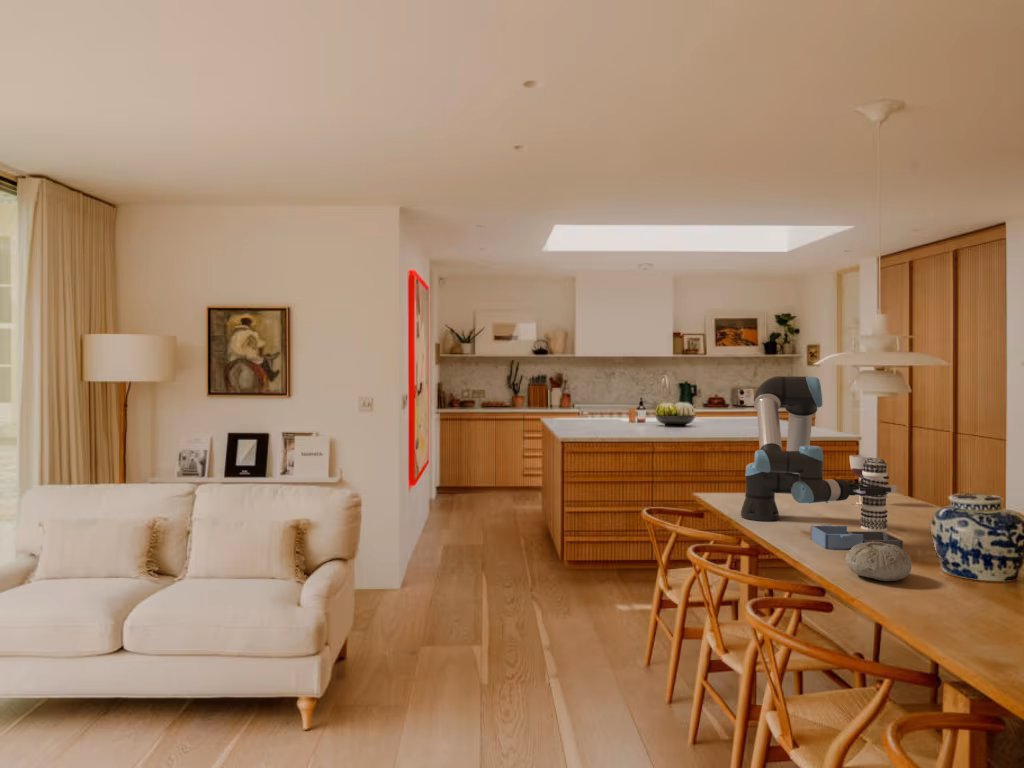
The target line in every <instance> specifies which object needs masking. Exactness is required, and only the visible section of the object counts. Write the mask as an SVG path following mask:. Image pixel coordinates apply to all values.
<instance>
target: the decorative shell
mask: <svg viewBox="0 0 1024 768" xmlns="http://www.w3.org/2000/svg"><path fill="white" fill-rule="evenodd" d="M844 561H845V564H846V566H847V567H848V568H849V569H850V570H851V572H852V573H854V574H856V575H857V576H861V577H866V578H869V579H870V578H871V579H873V580H877V581H881V582H894V581H895V582H896V581H899V580H903V579H904V578H906V577H908V576H909V574H910V573H911V571H912V563H913V561H912V559H911V558H910V556H909V555H908V552H907V551H905V550H904V549H901V548H900V547H898V546H896V545H893V544H892V545H890V544H885V543H882V542H874V541H872V542H867V543H860V544H857V545H855V546H854V547H852V548H851V549H848V550H847V553H846V554H845V558H844Z"/></svg>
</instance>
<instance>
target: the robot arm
mask: <svg viewBox="0 0 1024 768" xmlns="http://www.w3.org/2000/svg"><path fill="white" fill-rule="evenodd" d="M753 407H754V409H755V410H756V412H757V429H758V431H757V432H758V444H759V449H757V450H755V451H754V461H753V462H750V463H748V464H747V465H746V466H745V474H744V476H745V489H744V490H745V496H744V500H743V504H742V506H741V510H740V517H741V516H742V517H741V518H743V517H744V518H743V519H746V518H747V519H746V520H750V519H751V521H757V520H759V521H758V522H771V521H777V520H779V519H780V512H779V509H778V506H777V502H776V500H775V499H776V497H775V496H776V495H775V494H786V495H787V494H788V495H791V496H792V498H793V500H794V501H795V502H797V503H798V504H813V503H814V504H815V503H825V504H828V503H829V502H835V501H836V502H837V501H838V502H839V501H845V500H847V499H848V498H849V497H850V496H859V495H860V496H862V497H863V496H866V495H881V496H883V495H886V493H888V494H894V493H895V494H896V493H897V488H898V487H897V484H887V485H881V486H863V485H862V483H861V482H860V480H859V479H858V478H854V480H852V479H851V480H845V479H843V478H829V479H824V478H823V474H824V473H823V471H824V470H823V468H824V458H823V457H824V453H823V448H822V447H821V446H819V445H811V444H810V443H811V434H812V424H813V423H812V422H813V415H815V414H816V413H817V412H818V408H821V407H823V393H822V387H821V381H820V379H819V378H818V377H817V376H808V375H805V376H798V375H797V376H791V375H790V376H783V375H782V376H781V375H778V376H776V375H775V376H772V377H770V378H767V379H766V380H765V381H763V382H762V383H761V384H760V385H759V386H758V388H757V389H756V391H755V393H754V397H753ZM781 407H784V409H785V411H786V412H787V413H788V421H787V422H788V423H787V438H786V449H785V450H783V444H782V434H781V424H780V415H779V414H780V412H779V409H780V408H781Z"/></svg>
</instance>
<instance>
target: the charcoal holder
mask: <svg viewBox="0 0 1024 768" xmlns="http://www.w3.org/2000/svg"><path fill="white" fill-rule="evenodd" d="M847 534H863V543H867V542H872V541H874V542H882V543H885V544H890V545H892V544H893V545H896V546H898V547H900V548H901V549H903V546H904V545H903V544H904V541H903V540H902V539H900V538H898V537H896V536H893V535H892V534H890V533H887V531H884V532H874V531H867V530H863V531H861V530H859V531H854V530H853V531H851V530H850V531H849V530H847ZM903 550H904V549H903Z"/></svg>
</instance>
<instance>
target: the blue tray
mask: <svg viewBox="0 0 1024 768" xmlns="http://www.w3.org/2000/svg"><path fill="white" fill-rule="evenodd" d="M847 531H848V526H847V525H831V524H821V525H810V538H809V539H810V540H811V541H813V542H814V543H816V544H817V545H819V546H821V547H822V548H823V549H826V550H829V549H830V550H833V549H834V550H837V549H838V550H848V549H847V548H852V547H854V546H855V545H857V544H860V543H863V534H847Z"/></svg>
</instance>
